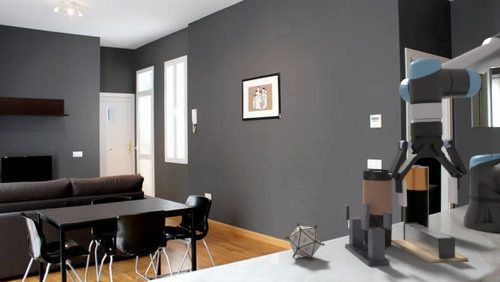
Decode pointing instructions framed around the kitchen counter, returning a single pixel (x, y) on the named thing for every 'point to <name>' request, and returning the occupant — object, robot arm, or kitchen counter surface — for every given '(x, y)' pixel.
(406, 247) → the board
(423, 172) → the battery
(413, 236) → the rail
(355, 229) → the stand
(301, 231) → the game die
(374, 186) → the travel mug
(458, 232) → the kitchen counter surface
